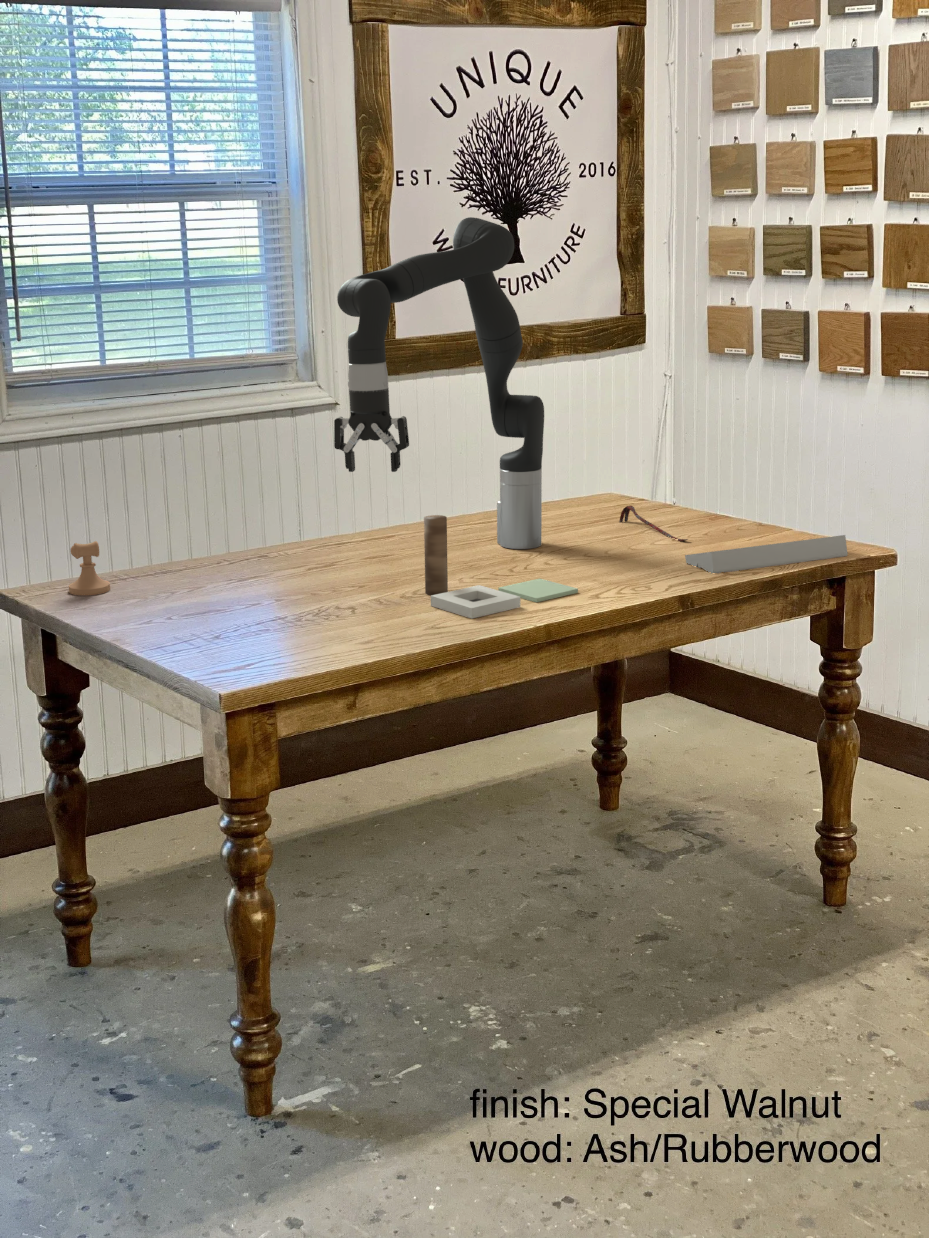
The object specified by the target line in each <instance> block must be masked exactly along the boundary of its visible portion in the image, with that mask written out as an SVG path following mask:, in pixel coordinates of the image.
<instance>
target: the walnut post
mask: <svg viewBox="0 0 929 1238" xmlns="http://www.w3.org/2000/svg"><path fill="white" fill-rule="evenodd" d="M447 522H448V518H447V516H446V515H440V514H435V515H434V514H432V515H426V516H424V517H423V533H424V534H423V536H424V537H423V538H424V540H423V541H424V544H423V546H424V592H425V594H426V595H428V596H431V595H436V594H440V593H445V592H449V584H448V581H449V578H448V523H447Z"/></svg>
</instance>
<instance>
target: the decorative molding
mask: <svg viewBox="0 0 929 1238" xmlns="http://www.w3.org/2000/svg"><path fill="white" fill-rule="evenodd" d="M847 546H848V545H847V538H846V534H842V535H834V536H826V537H825V536H824V537H819V538H810V539H809V538H808V539H802V540H795V541H794V540H793V541H786V542H778V543H772V544H771V543H770V544H761V545H755V546H747V547H737V548H731V549H729V548H728V549H722V550H714V551H713V550H712V551H707V552H699V553H691V554H685V555H684V557H685V562H686V564H687V563H688V564H687V565H690V566H691V565H693V566H696V567H698V569H701V568H702V569H703V570H706V571H705V572H707V571H708V572H707V573H709V572H711V573H710V574H712V573H717V574H722V573H721V572H724V573H732V572H737V571H738V572H739V570H740V571H745V570H753V569H760V568H768V567H769V568H770V567H774V566H784V565H790V564H798V563H806V562H807V563H808V562H815V561H820V560H828V559H829V560H830V559H835V558H843V557H848V547H847ZM693 566H692V567H693ZM696 567H695V568H696Z"/></svg>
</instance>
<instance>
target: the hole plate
mask: <svg viewBox="0 0 929 1238" xmlns="http://www.w3.org/2000/svg"><path fill="white" fill-rule="evenodd" d="M430 606H431V607H433V608H437V609H440V610H443V611H446V612H448V613H453V614H456V615H459V616H462V617H466V618H469V619H471V620H472V619H475V618H480V617H485V616H488V615H493V614H496V613H502V612H505V611H509V610H515V609H518V608H521V598H520V597H519V596H516V595H512V594H509V593H505V592H502V591H498V589H496V588H495V589H494V588H491V587H487V586H483V585H480V584H478V585H477V584H476V585H472V586H469V587H464V588H460V589H455V590H451V591H448V592H445V593H440V594H436V595H430Z"/></svg>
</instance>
